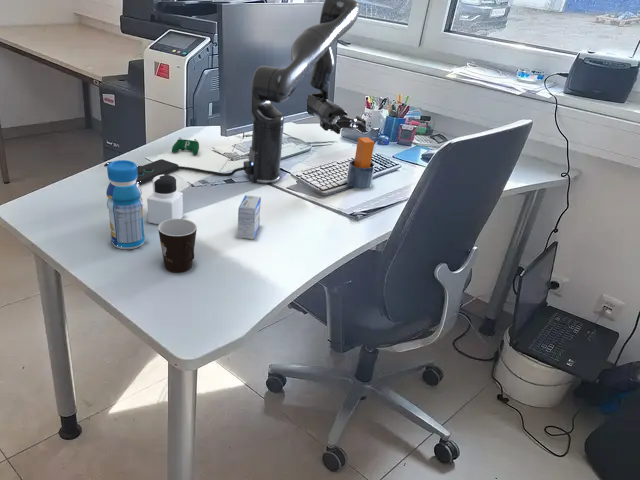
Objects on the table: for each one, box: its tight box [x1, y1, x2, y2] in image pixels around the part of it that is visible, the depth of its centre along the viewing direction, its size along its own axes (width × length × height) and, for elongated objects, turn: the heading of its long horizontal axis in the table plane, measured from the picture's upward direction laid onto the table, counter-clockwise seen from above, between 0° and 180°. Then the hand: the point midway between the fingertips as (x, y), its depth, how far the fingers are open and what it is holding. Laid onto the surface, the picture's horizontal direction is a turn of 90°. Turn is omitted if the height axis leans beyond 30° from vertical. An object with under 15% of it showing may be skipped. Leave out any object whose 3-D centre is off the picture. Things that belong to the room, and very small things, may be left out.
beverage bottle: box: [105, 159, 146, 250], centre depth 132 cm, size 8×8×20 cm
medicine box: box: [237, 195, 262, 240], centre depth 143 cm, size 8×4×9 cm, turn 168°
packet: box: [354, 136, 375, 168], centre depth 171 cm, size 3×5×14 cm
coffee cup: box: [346, 159, 376, 190], centre depth 173 cm, size 8×8×7 cm
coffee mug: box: [157, 218, 198, 274], centre depth 125 cm, size 12×9×10 cm
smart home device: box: [136, 158, 179, 186], centre depth 174 cm, size 8×2×20 cm
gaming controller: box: [171, 136, 200, 156], centre depth 193 cm, size 9×4×6 cm
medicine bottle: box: [146, 174, 184, 225], centre depth 146 cm, size 7×7×12 cm
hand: (352, 130), depth 175 cm, fingers open, 8 cm apart
